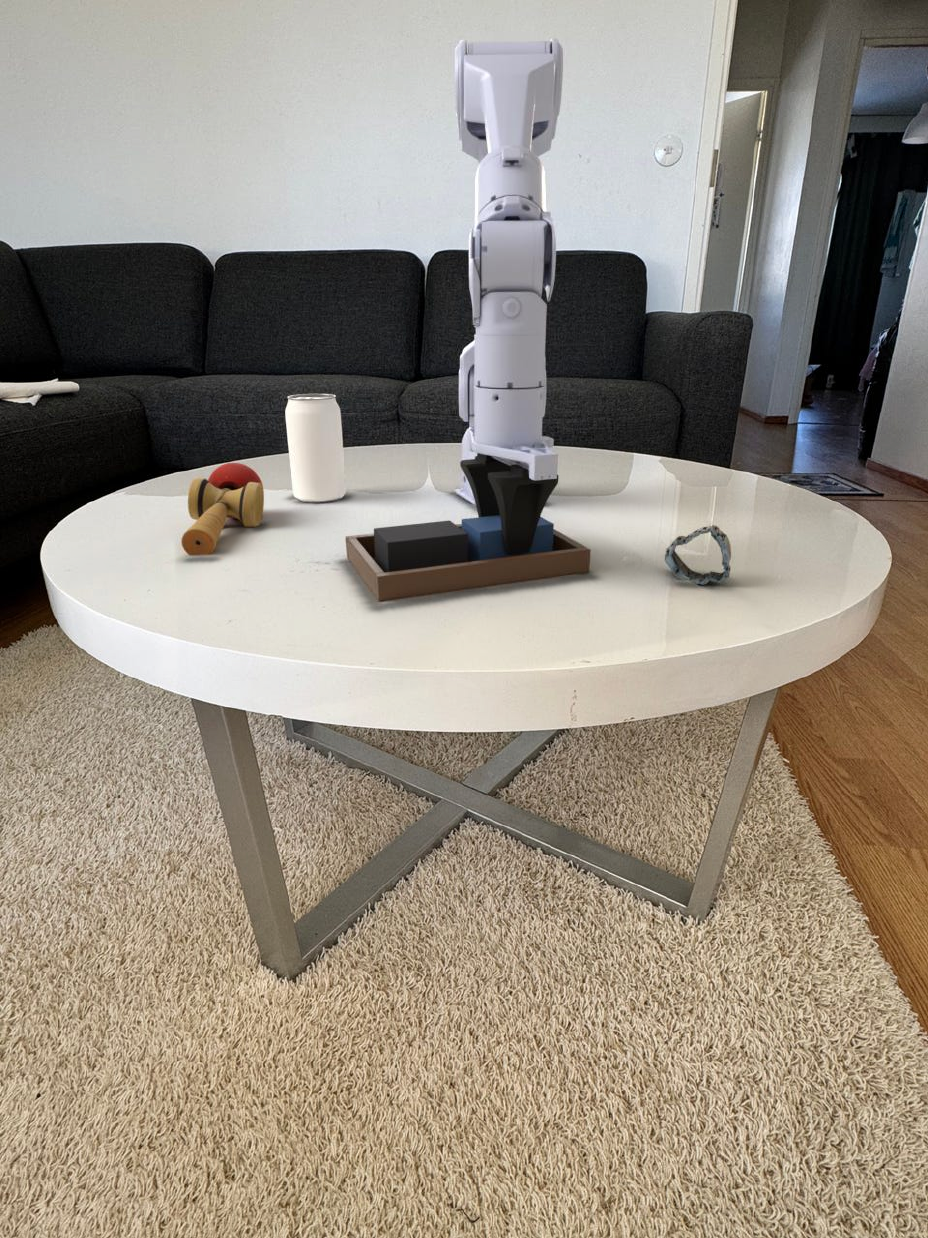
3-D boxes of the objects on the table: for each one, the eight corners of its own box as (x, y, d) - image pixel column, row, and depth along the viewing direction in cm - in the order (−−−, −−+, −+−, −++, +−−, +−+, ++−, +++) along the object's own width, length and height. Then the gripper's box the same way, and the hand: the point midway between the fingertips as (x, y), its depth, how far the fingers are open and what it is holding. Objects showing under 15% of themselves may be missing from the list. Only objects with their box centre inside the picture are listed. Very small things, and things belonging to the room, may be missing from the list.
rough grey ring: (696, 590, 63) (661, 546, 62) (748, 559, 60) (711, 513, 59) (690, 605, 60) (654, 560, 60) (744, 574, 57) (706, 526, 57)
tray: (347, 562, 66) (345, 536, 65) (530, 540, 72) (531, 516, 71) (379, 607, 56) (377, 576, 55) (589, 577, 62) (591, 549, 61)
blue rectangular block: (461, 556, 66) (461, 518, 65) (530, 547, 68) (531, 511, 67) (479, 571, 62) (479, 532, 61) (552, 561, 64) (554, 523, 63)
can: (335, 504, 86) (327, 399, 81) (284, 501, 87) (273, 398, 82) (353, 492, 92) (347, 393, 87) (306, 489, 93) (297, 392, 88)
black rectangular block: (375, 566, 63) (373, 528, 62) (450, 557, 66) (449, 520, 64) (389, 583, 59) (387, 542, 58) (468, 572, 62) (468, 533, 60)
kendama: (253, 570, 68) (283, 498, 83) (230, 508, 65) (265, 445, 80) (174, 585, 68) (218, 511, 84) (146, 524, 65) (198, 459, 80)
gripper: (596, 392, 54) (585, 563, 60) (516, 377, 67) (513, 520, 72) (511, 396, 52) (507, 573, 57) (444, 380, 64) (446, 527, 70)
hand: (505, 544), depth 64 cm, fingers closed on blue rectangular block, 4 cm apart
